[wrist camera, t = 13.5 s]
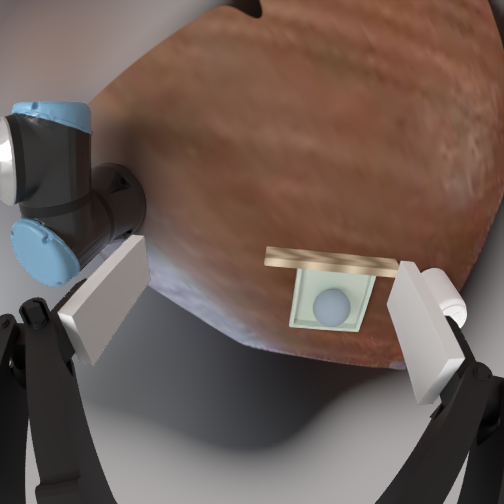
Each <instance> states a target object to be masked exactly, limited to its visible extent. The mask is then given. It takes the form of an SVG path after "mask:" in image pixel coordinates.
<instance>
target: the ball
mask: <svg viewBox="0 0 504 504" xmlns="http://www.w3.org/2000/svg"><path fill="white" fill-rule="evenodd" d="M350 309H351V306H350V301H349V299H348V297H347V296H346V295H345V294H344V293H343V292H341V291H339V290H336V289H328V290H325V291H323V292H321V293H320V294H319V295H318V296H317V297H316V299H315V301H314V304H313V313H314V316H315V318H316V320H317V321H318V322H319V323H320V324H322V325H324V326H327V327H336V326H339V325H341V324H342V323H344V322H345V321H346V319H347V318H348V316H349V314H350Z"/></svg>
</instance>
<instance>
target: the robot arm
mask: <svg viewBox="0 0 504 504" xmlns="http://www.w3.org/2000/svg"><path fill="white" fill-rule="evenodd" d="M92 135H93V132H92V131H91V110H90V108H89V107H88V106H87V105H86V104H85V103H82V102H69V101H40V102H22V103H16V104H15V105H14V106H13V109H12V115H9V116H5V117H1V118H0V200H2V201H3V202H5V203H6V204H8V205H14V204H17V203H19V207H20V214H21V218H20V219H18V220H17V221H16V222H15V224H14V225H13V227H12V230H11V233H10V239H11V245H12V248H13V251H14V253H15V256H16V257H17V259H18V261H19V262H20V264H21V265H22V267H23V268H24V269H25V270H26V271H27V272H28V273H29V274H30V275H31V276H32V277H33V278H34V279H35V280H37V281H38V282H40V283H42V284H44V285H47V286H50V287H60V286H63V285H65V284H66V283H67V282H68V281H70V279H72V278H73V277H75V276H77V275H78V273H79V272H80V271H81V270H82V269H83V268H84V267H85V266H86V265H87V264H88V263H89V262H90V261H91V260H92V259H93V258H94V257H95V256H96V255H97V254H98V253H99V252H100V251H101V250H102V249H103V248H104V247H105V246H106V245H107V244H111V243H114V242H118V241H121V240H124V239H126V238H128V237H129V236H130V237H129V238H128V239H127V240H126V241H125V242H124V243H123V244H122V245H121V246H120V247H119V248H118V249H117V250H116V251H115V252H114V253H113V254H112V255H111V256H110V257H109V258H108V259H107V260H106V261H105V262H104V263H103V264H102V265H101V266H100V267H99V268H98V269H97V270H96V271H95V272H94V273H93V274H92V275H91V276H90V277H89V278H88V279H86V278H85V279H83V280H82V281H80V282H78V283H77V284H75V286H74V287H73V288H72V289H71V290H70V292H68V293H67V294H66V295H65V297H63V298H62V299H61V300H60V302H59V303H58V304H57V305H56V306H55V307H54V308H53V309H52V310H51V312H50V311H49V309H48V306H47V303H46V301H45V300H44V299H43V298H39V297H37V298H32V299H30V300H27V301H26V302H24V303H23V304H22V306H21V307H20V309H19V313H20V315H21V317H22V319H23V322H24V323H23V324H22V323H17V322H16V320H15V317H14V316H13V315H12V314H4V315H1V316H0V504H26V498H25V460H26V441H27V430H28V420H30V427H31V435H32V441H33V447H34V452H35V458H36V463H37V468H38V472H39V476H40V484H39V485H38V486H37V487H36V489H35V495H36V500H37V504H117V502H116V501H115V499H114V497H113V495H112V492H111V490H110V487H109V485H108V483H107V480H106V477H105V475H104V472H103V470H102V467H101V464H100V462H99V458H98V456H97V453H96V450H95V447H94V444H93V440H92V437H91V434H90V431H89V427H88V424H87V420H86V416H85V413H84V409H83V405H82V401H81V397H80V393H79V388H78V383H77V379H76V373H75V368H74V363H73V361H72V359H71V358H72V356H73V355H74V353H76V355H77V357H78V359H79V361H80V362H82V363H85V364H88V365H91V366H94V365H95V363H96V362H97V360H98V358H99V357H100V355H101V354H102V352H103V350H104V349H105V347H106V346H107V344H108V343H109V341H110V339H111V338H112V337H113V335H114V333H115V332H116V330H117V329H118V327H119V326H120V324H121V323H122V321H123V320H124V318H125V317H126V315H127V314H128V312H129V311H130V309H131V308H132V306H133V305H134V303H135V302H136V301H137V299H138V298H139V296H140V295H141V293H142V292H143V290H144V289H145V288H146V286H147V285H148V283H149V282H150V281H151V278H150V272H149V266H148V259H147V252H146V245H145V237H144V236H140V235H132V234H133V233H134V232H135V231H136V230H137V229H138V228H139V227H140V226H141V224H142V222H143V220H144V217H145V211H146V202H145V196H144V193H143V190H142V188H141V185H140V184H139V182H138V180H137V179H136V178H135V176H134V175H133V174H132V173H131V172H130V171H128V170H127V169H125V168H124V167H122V166H120V165H117V164H112V163H106V164H101V165H99V166H96V167H94V168H92V169H91V136H92ZM387 307H388V310H389V313H390V315H391V318H392V321H393V324H394V327H395V330H396V333H397V336H398V339H399V342H400V346H401V349H402V352H403V355H404V359H405V362H406V365H407V369H408V372H409V376H410V379H411V383H412V386H413V390H414V394H415V398H416V402H417V405H425V404H433V403H434V401H435V400H436V399H437V397H438V396H439V395H440V398H441V401H442V403H441V404H440V405H439V406H438V408H437V409H436V410H435V411H434V412H433V413H432V415H431V416H430V417H431V418H432V419H431V421H430V423H429V425H428V426H427V428H426V430H425V432H424V433H423V435H422V437H421V438H420V440H419V442H418V443H417V445H416V447H415V448H414V450H413V451H412V453H411V455H410V456H409V458H408V459H407V461H406V462H405V464H404V465H403V467H402V468H401V469H400V471H399V472H398V474H397V475H396V477H395V478H394V479H393V481H392V482H391V484H390V485H389V486H388V487H387V489H386V490H385V492H384V493H383V494H382V495H381V496H380V498H379V499H378V500H377V501H376V503H375V504H443V502H444V501H445V499H446V497H447V495H448V494H449V492H450V490H451V488H452V486H453V484H454V482H455V480H456V478H457V476H458V474H459V472H460V470H461V468H462V466H463V463H464V461H465V459H466V457H467V454H468V452H469V456H468V461H467V467H466V471H465V475H464V480H463V484H462V488H461V492H460V495H459V499H458V502H457V504H504V378H502V377H497V376H493V375H492V372H491V370H490V369H489V368H488V367H487V366H486V365H485V364H483V363H481V362H476V360H475V358H474V356H473V354H472V352H471V349H470V347H469V345H468V343H467V341H466V340H465V337H464V335H463V333H461V330H460V328H459V326H458V324H457V323H456V322H455V321H454V320H453V319H452V318H451V317H450V316H444V314H443V312H442V310H441V308H440V306H439V305H438V303H437V301H436V299H435V297H434V296H433V294H432V292H431V290H430V288H429V287H428V285H427V283H426V282H425V280H424V278H423V276H422V275H421V273H420V271H419V270H418V268H417V266H416V265H415V263H414V262H408V261H401V262H400V266H399V269H398V272H397V275H396V278H395V281H394V284H393V287H392V290H391V293H390V296H389V299H388V302H387ZM10 361H11V364H10V366H9V362H10ZM469 450H470V451H469Z"/></svg>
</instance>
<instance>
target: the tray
mask: <svg viewBox="0 0 504 504" xmlns="http://www.w3.org/2000/svg"><path fill="white" fill-rule="evenodd" d="M375 278H376V276H372V275H361V274H350V273H339V272H328V271H318V270H307V269H297V273H296V280H295V287H294V294H293V301H292V307H291V314H290V320H289V327H297V328H309V329H322V330H336V331H353V332H358V331H359V328H360V326H361V323H362V320H363V317H364V314H365V311H366V308H367V304H368V301H369V298H370V295H371V292H372V288H373V285H374V282H375ZM328 289H336V290H339V291H341V292H343V293H344V294H345V295H346V296H347V297H348V299H349V301H350V306H351V309H350V314H349V316H348V318H347V319H346V321H345V322H344V323H342V324H341V325H339V326H336V327H327V326H324V325H322V324H320V323H319V322H318V321H317V320H316V318H315V316H314V313H313V304H314V301H315V299H316V297H317V296H318V295H319V294H320V293H321V292H323V291H325V290H328Z"/></svg>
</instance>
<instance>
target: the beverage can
mask: <svg viewBox="0 0 504 504" xmlns="http://www.w3.org/2000/svg"><path fill="white" fill-rule="evenodd" d="M421 275H422V276H423V278H424V280H425V282H426V283H427V285H428V287H429V288H430V290H431V292H432V294H433V296H434V297H435V299H436V301H437V303H438V305H439V306H440V308H441V310H442V312H443V314H444V316H450V317H451V318H452V319H453V320H454V321H455V322H456V323H457V324H458V326H459V328H461V327H462V325H463V324H464V322H465V320H466V317H467V312H466V305H465V303H464V301H463V300H462V298H461V296H460V295H459V293H458V292H457V290H456V289H455V287H454V286H453V284H452V283H451V281H450V280H449V278H448V277H447V275H446V274H445V272H444V271H443V270H441V269H439V268H430V269H427V270H425V271H423V272H422V273H421Z"/></svg>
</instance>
